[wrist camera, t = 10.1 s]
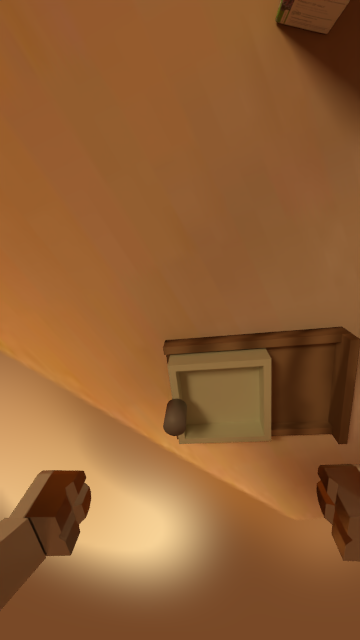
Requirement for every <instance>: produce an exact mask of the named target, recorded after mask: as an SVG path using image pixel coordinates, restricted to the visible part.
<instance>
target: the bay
mask: <svg viewBox="0 0 360 640" xmlns="http://www.w3.org/2000/svg"><path fill="white" fill-rule="evenodd" d="M252 348H266V350H267V352H268V354H269V355H270V357H271V436H285V435H315V434H332V435H333V436H334V438H335V439H336V441H337V442H338V444H347V440H348V432H349V425H350V417H351V410H352V402H353V394H354V387H355V379H356V371H357V364H358V356H359V348H360V339H359V338H358V337H356V336H355V335H353V334H352V333H350V332H349V331H347V330H346V329H344V328H343V327H332V328H320V329H307V330H294V331H281V332H268V333H255V334H242V335H229V336H216V337H203V338H190V339H178V340H165V343H164V346H163V350H164V355H166V357H167V363H168V362H169V357H170V354H182V353H196V352H210V351H224V350H238V349H252ZM177 439H179V438H178V436H177Z"/></svg>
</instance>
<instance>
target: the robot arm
mask: <svg viewBox="0 0 360 640" xmlns="http://www.w3.org/2000/svg"><path fill="white" fill-rule="evenodd" d="M318 475H319V477H320V479H321V480H320V481H319V482H318V483H317V497H318V502H319V505H320V508H321V510H322V513H323V515H324V518H325V519H327V520H328V521H329V522H330V523H331V524H332V525H333V526H332V536H333V538H334V540H335V543H336V545H337V547H338V549H339V552H340V554H341V556H342V558H343V560H344V561H360V464H353V465H352V464H341V465H320V466H319V468H318ZM85 479H86V475H85V473H84V471H62V470H52V471H42V472H40V473H39V474H38V475H37V477H36V478H35V480H34V481H33V483H32V484H31V486H30V487H29V488H28V490H27V491H26V493H25V495H24V496H23V498H22V499H21V500H20V502H19V503H18V505H17V506H16V508H15V510H14V511H13V512H12V514H11V515H10V517H9V518H4V519H3V520H2V521H1V522H0V610H1V609H2V608H3V607H4V606H5V605H6V603H7V602H8V601H9V600H10V599H11V598H12V596H13V595H14V594H15V593H16V592H17V591H18V589H19V588H20V587H21V586H22V585H23V584H24V583H25V581H26V580H27V579H28V578H29V577H30V576H31V574H32V573H33V572H34V571H35V570H36V569H37V568H38V566H39V565H40V564H41V563H42V562H43V561H44V559H45V558H46V556H65V555H71V554H72V551H73V549H74V546H75V544H76V541H77V538H78V536H79V534H80V529H79V524H80V523H81V522H82V521H83V520H84V519H85V518H86V516H87V513H88V510H89V508H90V502H91V491H90V487H89V486H88V485H87V484H86V483H84V482H85Z"/></svg>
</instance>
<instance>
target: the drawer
mask: <svg viewBox="0 0 360 640" xmlns="http://www.w3.org/2000/svg"><path fill="white" fill-rule="evenodd" d="M168 372H169V379H170V385H171V392H172V400H170V401H169V402H168V404H167V409H166V414H165V419H164V425H163V428H164V430H165V432H166V433H168V434H169V435H172V436H178V438H179V444H193V443H225V442H257V441H271V357H270V355H269V354H268V352H267V350H266V348H252V349H238V350H224V351H210V352H196V353H182V354H170V357H169V362H168Z"/></svg>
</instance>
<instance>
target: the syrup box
mask: <svg viewBox="0 0 360 640" xmlns="http://www.w3.org/2000/svg"><path fill="white" fill-rule="evenodd" d="M349 1H350V0H281V1H280V5H279V9H278V13H277V17H276V22H277V23H281V24H285V25H289V26H293V27H297V28H302V29H306V30H310V31H315V32H319V33H324V34H328V33H329V31H330V30H331V28H332V27H333V25H334V24H335V22H336V21H337V19H338V18H339V16H340V15H341V13H342V12H343V10H344V9H345V7H346V6H347V4H348V3H349Z"/></svg>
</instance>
